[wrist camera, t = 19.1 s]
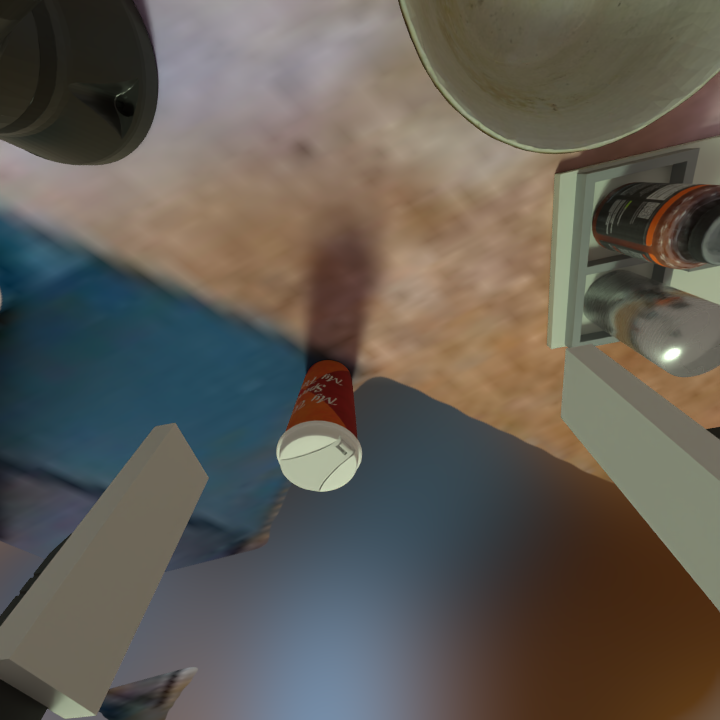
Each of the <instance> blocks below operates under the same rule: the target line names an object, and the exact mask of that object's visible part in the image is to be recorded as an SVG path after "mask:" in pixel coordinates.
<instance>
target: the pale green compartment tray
mask: <svg viewBox="0 0 720 720" xmlns="http://www.w3.org/2000/svg"><path fill="white" fill-rule="evenodd" d="M633 182H652V183H680V184H706V185H720V135H718V136H714V137H710V138H706V139H701V140H697V141H693V142H689V143H684V144H680V145H676V146H672V147H667V148H663V149H659V150H655V151H650V152H646V153H642V154H638V155H633V156H629V157H625V158H621V159H616V160H612V161H608V162H604V163H599V164H595V165H591V166H587V167H583V168H578V169H574V170H570V171H566V172H561V173H557V174H555V180H554V202H553V224H552V246H551V268H550V290H549V312H548V334H547V346H548V347H549V348H551V349H554V348H560V347H565V346H567V347H568V348H572V347H577V346H583V345H588V344H592V345H594V346H598V345H603V344H608V343H613V342H619V340H618V339H616V338H615V337H613V336H612V335H610V334H609V333H607V332H606V331H604V330H603V329H601V328H600V327H598V326H597V325H595V324H594V323H592V322H590V321H589V320H588V319H587V318H586V317H585V315H584V314H583V305H584V296H585V293H586V292H587V290H588V288H589V287H590V286H591V285H592V284H593V283H594V282H595V281H596V280H597V279H598V278H600V277H601V276H603V275H604V274H606V273H609V272H611V271H615V270H628V271H631V272H634V273H637V274H639V275H642V276H645V277H647V278H650V279H653V280H655V281H658V282H660V283H663V284H666V285H668V286H671V287H674V288H676V289H679V290H682V291H684V292H687V293H690V294H692V295H695V296H698V297H700V298H703V299H705V300H708V301H711V302H713V303H716V304H719V305H720V265H712V264H708V263H707V264H705V265H702V266H699V267H696V268H691V269H681V270H680V269H672V268H668V267H665V266H661V265H657V264H654V263H651V262H648V261H644V260H641V259H638V258H634V257H631V256H628V255H624V254H621V253H618V252H615V251H611V250H608V249H606V248H604V247H602V246H601V245H599V244H598V243H597V242H596V240H595V238H594V236H593V232H592V221H593V217H594V214H595V212H596V210H597V208H598V206H599V205H600V203H601V202H602V201H603V199H604V198H605V197H606V196H607V195H608V194H609V193H611V192H612V191H613V190H615V189H616V188H618V187H620V186H622V185H625V184H628V183H633Z"/></svg>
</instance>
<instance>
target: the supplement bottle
mask: <svg viewBox="0 0 720 720" xmlns="http://www.w3.org/2000/svg"><path fill="white" fill-rule="evenodd" d="M592 232H593V236H594V238H595V240H596V242H597V243H598V244H599V245H601V246H602V247H604V248H606V249H608V250H611V251H615V252H618V253H621V254H624V255H628V256H631V257H634V258H638V259H641V260H644V261H648V262H651V263H654V264H657V265H661V266H665V267H668V268H672V269H680V270H681V269H691V268H696V267H699V266H702V265H705V264H707V263H708V264H712V265H720V185H706V184H680V183H652V182H633V183H628V184H625V185H622V186H620V187H618V188H616V189H615V190H613V191H612V192H611V193H609V194H608V195H607V196H606V197H605V198H604V199H603V201H602V202H601V203H600V205H599V206H598V208H597V210H596V212H595V214H594V217H593V221H592Z"/></svg>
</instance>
